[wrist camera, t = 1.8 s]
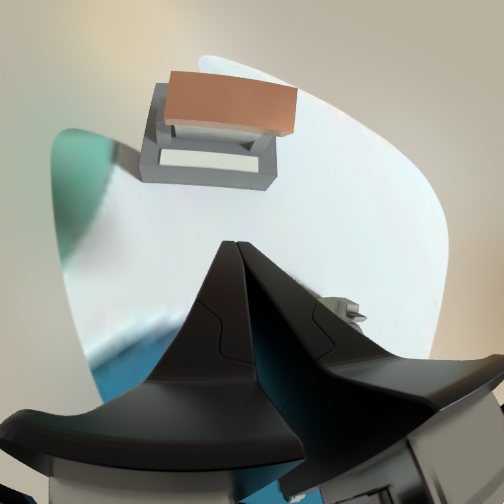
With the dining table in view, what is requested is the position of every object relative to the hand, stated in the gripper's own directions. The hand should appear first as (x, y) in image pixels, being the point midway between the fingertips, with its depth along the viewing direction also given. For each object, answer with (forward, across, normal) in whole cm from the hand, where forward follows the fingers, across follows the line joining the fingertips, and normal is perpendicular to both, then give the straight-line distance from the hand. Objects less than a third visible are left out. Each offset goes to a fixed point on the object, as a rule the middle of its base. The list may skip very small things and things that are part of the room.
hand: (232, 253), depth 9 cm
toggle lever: (+14, 0, -1) cm, 14 cm away
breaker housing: (+16, 0, +1) cm, 16 cm away
